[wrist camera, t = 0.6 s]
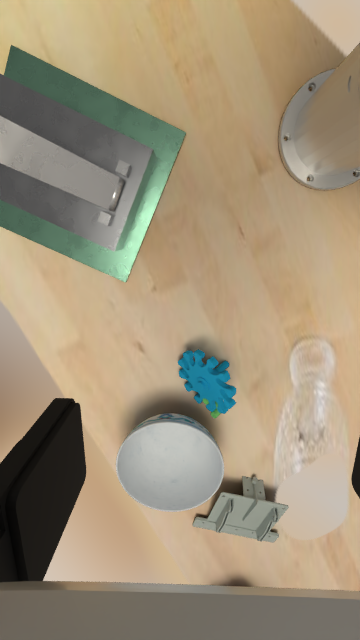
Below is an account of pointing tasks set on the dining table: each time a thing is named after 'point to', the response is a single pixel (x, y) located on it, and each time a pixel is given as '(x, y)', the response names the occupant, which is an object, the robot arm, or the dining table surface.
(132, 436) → the chinaware
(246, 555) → the dining table surface
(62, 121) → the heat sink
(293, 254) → the dining table surface
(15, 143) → the steel strap
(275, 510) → the metal bracket
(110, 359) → the dining table surface
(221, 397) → the gear
